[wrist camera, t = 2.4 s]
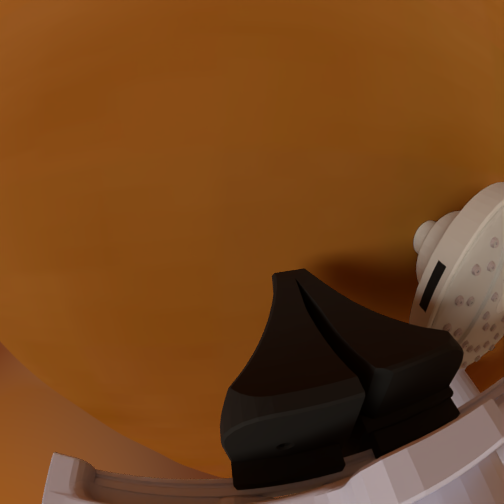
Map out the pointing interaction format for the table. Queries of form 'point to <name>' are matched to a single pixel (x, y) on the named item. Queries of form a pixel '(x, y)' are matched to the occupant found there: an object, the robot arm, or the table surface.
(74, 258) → the table surface
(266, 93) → the table surface
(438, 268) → the showerhead
